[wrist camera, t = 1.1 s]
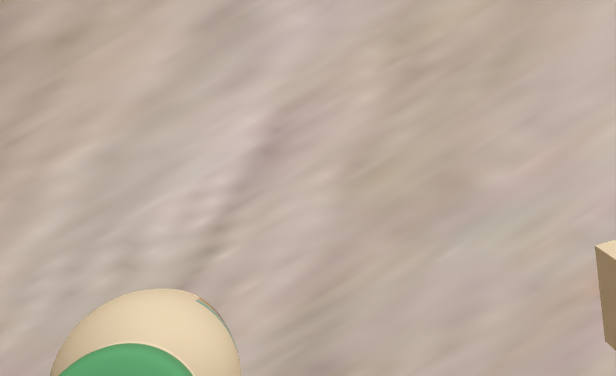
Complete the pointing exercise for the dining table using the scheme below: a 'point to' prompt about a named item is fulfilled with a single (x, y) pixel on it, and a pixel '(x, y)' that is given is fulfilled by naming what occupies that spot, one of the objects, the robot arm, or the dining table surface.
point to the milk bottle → (150, 339)
